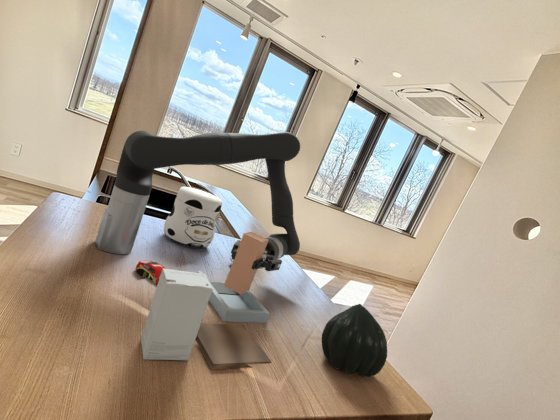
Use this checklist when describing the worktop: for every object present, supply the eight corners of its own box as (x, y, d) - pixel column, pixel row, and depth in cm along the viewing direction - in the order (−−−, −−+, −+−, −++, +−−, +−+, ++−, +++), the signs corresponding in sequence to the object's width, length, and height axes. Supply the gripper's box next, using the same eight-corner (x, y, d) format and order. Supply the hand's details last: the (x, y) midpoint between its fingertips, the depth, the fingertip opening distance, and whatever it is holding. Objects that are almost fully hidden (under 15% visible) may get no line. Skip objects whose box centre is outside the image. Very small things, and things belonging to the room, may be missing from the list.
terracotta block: (223, 285, 89) (243, 233, 87) (232, 281, 94) (251, 231, 92) (241, 294, 88) (261, 241, 86) (249, 289, 92) (268, 239, 91)
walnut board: (211, 369, 65) (213, 363, 65) (188, 328, 76) (190, 322, 76) (269, 366, 73) (271, 361, 73) (241, 329, 83) (243, 324, 83)
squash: (390, 381, 74) (401, 312, 82) (320, 353, 75) (338, 289, 84) (369, 391, 85) (380, 330, 94) (309, 367, 87) (325, 309, 95)
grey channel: (222, 324, 82) (227, 311, 81) (193, 282, 98) (197, 271, 97) (265, 326, 89) (270, 313, 88) (232, 286, 105) (236, 275, 104)
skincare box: (182, 342, 70) (207, 273, 68) (188, 363, 65) (215, 288, 63) (137, 339, 66) (162, 265, 64) (140, 361, 61) (167, 281, 59)
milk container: (194, 256, 118) (212, 204, 115) (150, 235, 122) (167, 184, 119) (217, 247, 135) (233, 202, 132) (177, 229, 138) (192, 185, 136)
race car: (179, 294, 90) (185, 279, 89) (161, 296, 85) (167, 281, 85) (149, 269, 97) (154, 255, 96) (131, 270, 92) (136, 256, 92)
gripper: (249, 228, 105) (223, 234, 88) (294, 249, 101) (275, 259, 85) (240, 252, 106) (213, 262, 89) (284, 273, 102) (264, 287, 86)
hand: (244, 260), depth 87 cm, fingers closed on terracotta block, 5 cm apart
